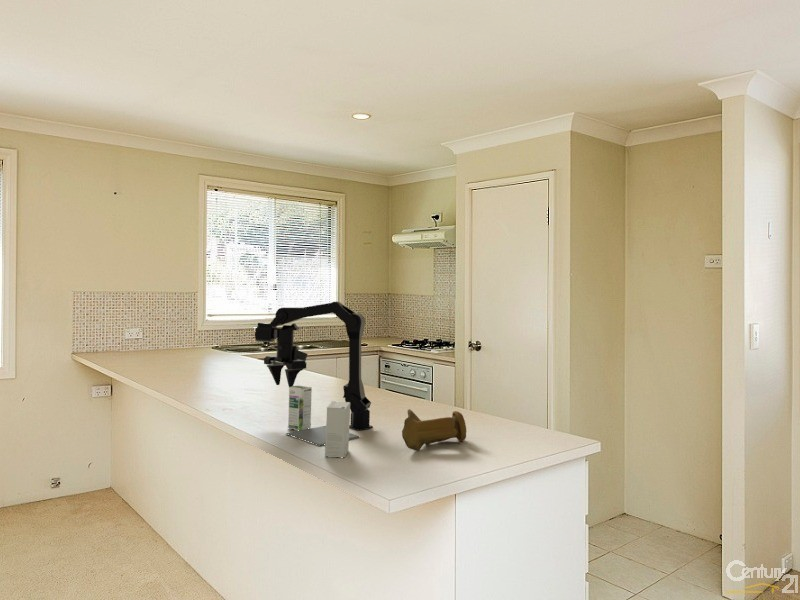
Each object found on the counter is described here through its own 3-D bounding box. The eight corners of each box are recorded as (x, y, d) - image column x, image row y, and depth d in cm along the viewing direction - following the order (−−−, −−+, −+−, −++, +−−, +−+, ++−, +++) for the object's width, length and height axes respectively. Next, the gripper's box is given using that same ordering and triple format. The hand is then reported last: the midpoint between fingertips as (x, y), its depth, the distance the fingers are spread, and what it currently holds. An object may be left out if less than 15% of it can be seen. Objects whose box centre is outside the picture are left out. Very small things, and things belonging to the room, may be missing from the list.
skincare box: (329, 449, 177) (330, 400, 176) (349, 450, 176) (350, 401, 176) (324, 458, 168) (325, 406, 168) (345, 458, 168) (346, 407, 168)
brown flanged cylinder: (390, 414, 193) (454, 402, 197) (397, 454, 190) (462, 441, 194) (397, 408, 176) (467, 396, 180) (405, 452, 172) (476, 438, 176)
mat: (359, 437, 191) (359, 435, 191) (319, 446, 180) (319, 444, 180) (325, 427, 204) (325, 425, 204) (286, 434, 193) (286, 433, 193)
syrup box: (287, 429, 200) (288, 387, 200) (298, 426, 205) (298, 384, 205) (300, 431, 197) (301, 388, 197) (311, 428, 203) (312, 386, 202)
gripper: (319, 343, 207) (318, 387, 208) (289, 339, 221) (288, 380, 221) (292, 345, 199) (291, 391, 200) (263, 340, 213) (262, 383, 213)
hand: (284, 386), depth 209 cm, fingers open, 8 cm apart
